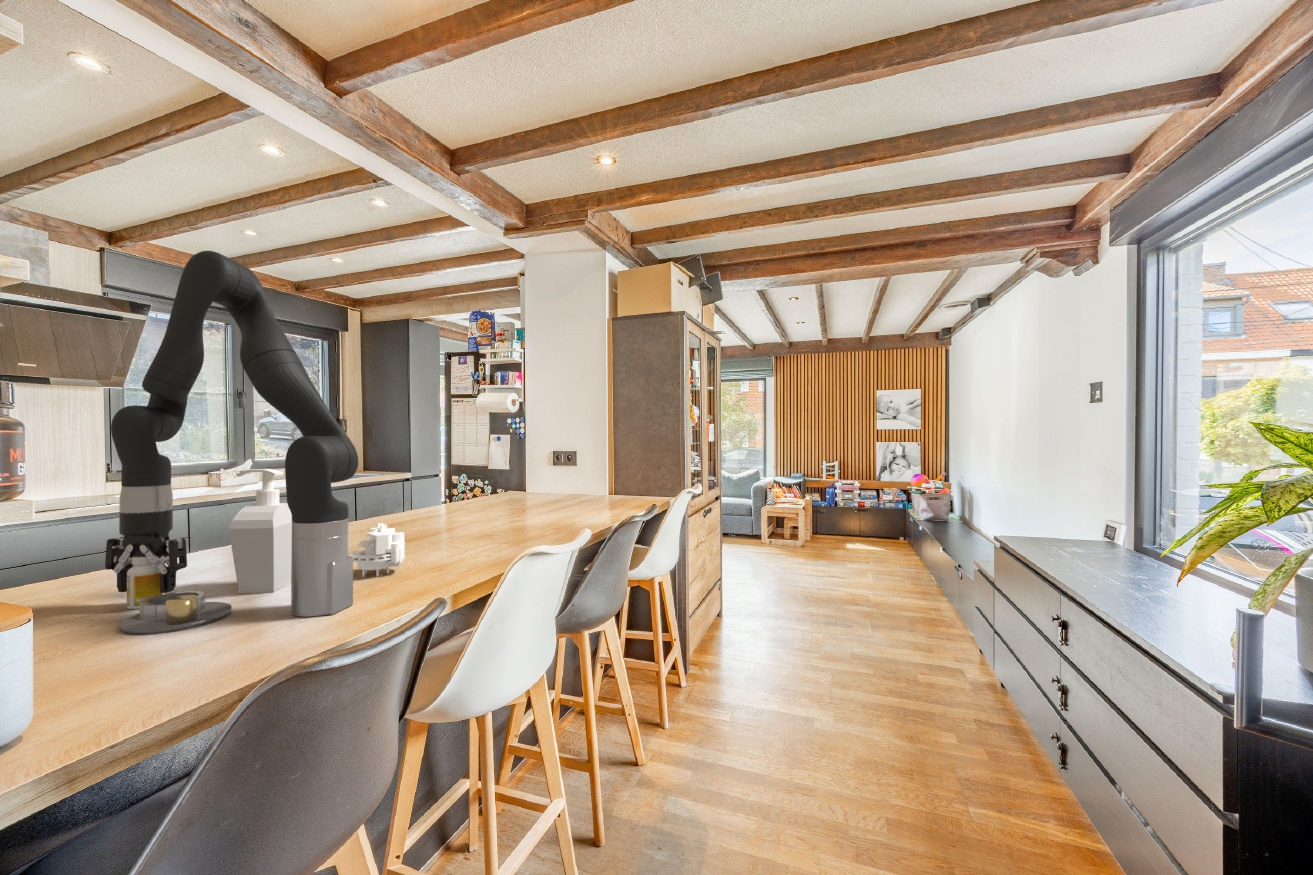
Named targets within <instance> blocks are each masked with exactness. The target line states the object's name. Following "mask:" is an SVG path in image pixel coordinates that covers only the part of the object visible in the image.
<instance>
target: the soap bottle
mask: <svg viewBox="0 0 1313 875" xmlns="http://www.w3.org/2000/svg"><path fill="white" fill-rule="evenodd" d="M251 473H262V476H261V478H262V479H261V481H262V482H261V484H262V488H261V489H257V490H255V498H256V499H255V501H256V502H255V503H253V504H249V505H245V506H244V507H242V508H241V509H240V510H239V511H238V512H237V514H236V515H235V516H234V518H232V520H231V522H230V525H229V527H228V533H229V540H230V545H231V551H232V557H233V558H232V559H233V564H234V565H233V566H234V570H235V576H236V582H237V590H238V594H265V593H266V594H267V593H269V594H272V593H276V592H277V591H279V590H282V589H283V588H284V587H286V586H289V585H290V584H291V553H292V514H291V511H290V509H289V507H288V504H287V502H280V492H281V491H280V489H278V488H277V489H275V487H274V486H275V484H274V483H275V482H274V480H275V479H274V478H275V477H278V476H283V475H284V472H283V471H280V470H279V469H278V470H277V469H272V468H257V469H256V468H254V469H247V470H243V471H240V472H239V473H237V474H235V475H236V477H238V478H239V477H243V476H245V475H247V474H251Z"/></svg>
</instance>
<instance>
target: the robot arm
mask: <svg viewBox="0 0 1313 875" xmlns="http://www.w3.org/2000/svg"><path fill="white" fill-rule="evenodd" d="M181 273H182V274H181V276H180V279H179V282H178V286H177V289H176V290H177V291H176V293H175V297H174V301H173V304H172V308H171V310H170V315H169V320H168V322H167V326H166V330H165V333H164V335H163V338H162V340H161V344H160V345H159V348H158V350H157V352H156V354H155V355H154V357H153V360H152V361H151V364H150V366H149V367H148V370H147V371H146V374H145V375H144V377H143V380H142V383H141V387H142V389H143V390H144V391H145V392H146V393H148V394H149V398H148V403H147V405H136V404H135V405H127V406H124V407H122V408H120V409H118V410H117V411H116V412H115V414H114V416H113V417H112V420H111V423H110V431H111V432H110V434H111V438H112V441H113V444H114V447H115V451H116V454H117V456H118V459H119V462H120V464H121V482H120V483H121V488H120V495H119V506H118V507H119V514H118V515H119V516H118V518H119V522H118V523H119V526H118V529H119V531H118V532H119V535H120V536H118V537H113V538H108V539H107V540H106V548H105V560H104V561H105V562H104V568H105V570H108V571H109V570H112V571H113V572H114V573H115V574H116V588H117V591H118V593H127V571H128V570H129V569H130V568H133V567H134V565H132V557H147V558H148V559H149V561H150V562H151V563H152V565H154V566H157V568H158V569H159V570H160V572H161V573H162V574H160V592H161V593H165V594H169V593H172V592H173V591H175V588H176V586H177V571H180V570H182V569H186V568H187V567H188V559H187V558H188V556H187V540H186V538H185V537H181V538H180V537H179V538H176V539H171V538H170V534H169V533H171V531H172V530H173V527H174V526H173V525H174V523H173V522H174V521H173V520H174V518H173V517H174V516H173V515H174V514H173V513H174V508H173V507H174V506H173V504H174V495H173V488H172V462H171V460H170V458H169V457H168V456H166V455H163V454H160V452H159V451H158V446H157V443H163V442H166V441H169V440H171V439H173V438H174V437H175V436H176V435H177V434H178V433H179V431H180V430H181V428H182V426H183V424H184V421H185V416H186V411H187V405H188V397H189V394H190V392H191V390H192V388H193V387H194V385H195V383H196V381H197V378H198V376H199V375H200V373H201V371H202V368H203V365H204V361H205V360H204V359H205V348H204V347H205V345H204V334H203V332H204V331H203V330H204V321H205V317H206V315H207V312H208V310H209V309H210V308H211V305H212V304H213V303H216V304H217V305H220V306H222V307H223V308H225V309H226V311H227V312H228V313H229V314H230V315H231V317H232V318H233V320H234V321H235V323H236V325H237V327H238V329H239V331H240V334H241V340H240V341H241V342H240V349H239V357H240V364H241V365H242V369H243V370H244V372H245V374H246V375H247V377H248V379H249V381H250V383H251V385H252V387H253V388H254V389H255V391H256V392H257V393H258V395H259V396H260V397H261V398H263V400H265V401H266V402H267V403H268V404H269V405H270V406H271V407H273V409H275V410H276V411H278V412H279V413H280V414H282V415H283V417H286V418H287V419H288V420H289V421H290V422H291V423H292V424H294V425H295V426H296V428H297V430H299V432H300V433H301V434H302V436H301V437H298V438H296V439H294V440H293V441H292V442H291V443H290V444H289V447H288V448H287V451H286V455H285V460H284V475H285V489H286V490H285V492H286V503H287V504H288V507H289V509H290V511H291V514H292V553H291V583H290V584H291V585H290V593H291V594H290V595H291V596H290V597H291V599H290V600H291V604H290V613H291V614H292V615H293V616H296V617H305V618H306V617H318V616H323V615H334V614H336V613H338V612H341V611H342V610H345V609H346V608H348V607H350V606H352V605H353V604H354V562H353V557H352V556H349V512H350V511H349V510H350V509H349V506H348V503H346V502H344V501H341V500H338V499H337V498H336V497H334V495H333V492H332V484H334V483H340V482H345V481H347V480H350V479H351V478H352V477H354V476H355V474H356V473H357V471H358V469H359V457H358V456H359V454H358V452H357V450H356V446H355V445H354V444H353V442H352V440H351V439H350V438H349V436H348V434H346V432H345V431H344V429H343V428H342V426H341V425H340V423H338V421H337V420H336V418H335V417H334V416H333V414H332V413H331V411H330V410H329V408H328V407H327V405H326V403H325V402H324V400H323V398H322V396H321V395H320V393H319V391H318V390H317V388H316V386H315V385H314V383H313V382H312V380H311V377H310V376H309V374H308V372H307V370H306V368H305V366H304V364H303V363H302V361H301V359H300V357H299V355H298V354H297V352H296V350H295V349H294V348H293V346H292V344H291V343H290V341H289V339H288V337H287V336H286V334H285V332H284V330H283V328H282V327H281V325H280V323H279V322H278V320H277V318H276V316H275V314H274V311H273V309H272V307H271V304H270V301H269V300H268V298H267V295H266V293H265V289H264V287H263V285H262V283H261V281H260V279H259V277H258V276H257V275H256V274H255V273H254V272H253V271H252V270H251V269H250V268H248V267H247V266H245V265H243V264H242V263H239V262H238V261H235V260H233V259H232V258H230V257H228V256H226V255H223V254H222V253H219V252H216V251H213V250H202V251H198V252H197V253H195V254H193V255H192V256H191V257H190V258H189V259H188V260H187V262H186V264H185V265H184V268H183V270H182V272H181ZM115 558H116V559H115Z"/></svg>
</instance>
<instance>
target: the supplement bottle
mask: <svg viewBox="0 0 1313 875" xmlns="http://www.w3.org/2000/svg"><path fill="white" fill-rule="evenodd" d="M132 565H134V567H133V568H130V569H129V570H128V571H127V591H126V607H127V609H129V610H140V603H141V602H142V601H143V600H145V599H148V598H151V597H155V596H158V595H164V594H166V593H161V592H160V574H162V573H161V572H160V570H159V569H158V568H157V566H154V565H152V563H151V562H150V561H149V559H148V558H147V557H132Z"/></svg>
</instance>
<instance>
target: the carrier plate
mask: <svg viewBox="0 0 1313 875" xmlns="http://www.w3.org/2000/svg"><path fill="white" fill-rule="evenodd" d="M232 607H233V606H232V604H231V603H228V602H221V601H206V593H205V592H202V591H197V590H194V591H193V590H188V591H187V590H186V591H178V592H168V593H165V594H164V595H158V596H155V597H151V598H148V599H145V600H143V601H142V602H141V603H140V609H139V613H137V614H135V615H132V616H130V617H127V618H126V619H124V620H122V621H121V622H120V623H119V632H121V633H122V634H125V635H133V636H134V635H136V636H141V635H142V636H143V635H144V636H145V635H160V634H166V633H167V634H168V633H174V632H180V631H185V630H190V629H194V628H198V627H202V626H206V625H208V624H211V623H214V622H215V623H216V622H217V621H220V620H222V619H224V618H226V617H228V616H229V615H230V614H231V613H232V612H233V611H232V610H233V609H232Z"/></svg>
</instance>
